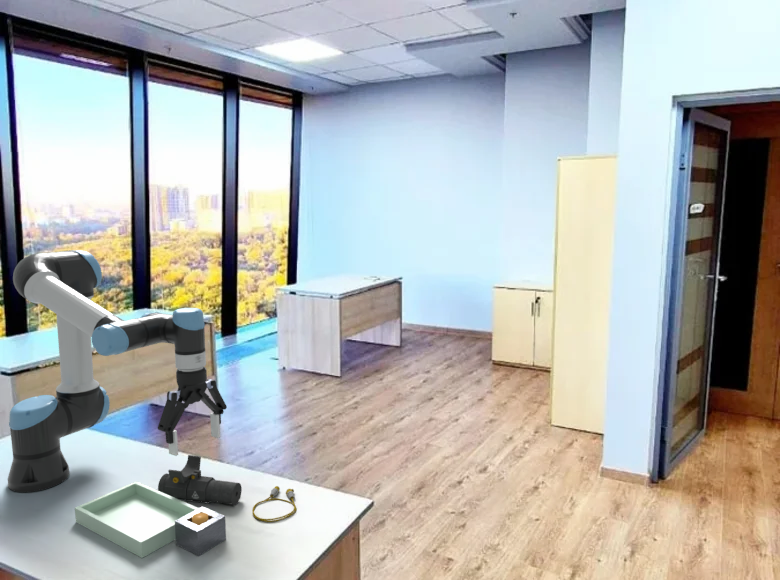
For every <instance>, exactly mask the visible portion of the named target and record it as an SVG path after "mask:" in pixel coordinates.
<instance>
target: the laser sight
mask: <svg viewBox="0 0 780 580" xmlns="http://www.w3.org/2000/svg"><path fill="white" fill-rule="evenodd" d="M201 461H202V456H201V455H200V456H199V455H192V454H188V455H187V461H186V463H185V466H184V467H183V468H182V469H181V470H175V469H168V470H167V471H168V473H164V474H163V475H162V476H161V478H160V479H159V481H158V484H157V490H158V491H160V492H163V493H165V494H167V495H170V496H172V497H174V498H176V499H179V500H181V501H187V502H188V501H189V502H196V503H203V504H210V502H211V503H219V504H224V505H225V504H226V505H233V506H235V505H238V503H239V502H240V500H241V496H242V491H243V490H242V489H243V488H242V485H241V483H240V482H235V481H227V480H219V479H215V478H214V477H212V476H204V475H202V470H200V469H201Z"/></svg>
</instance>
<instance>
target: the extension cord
mask: <svg viewBox="0 0 780 580" xmlns="http://www.w3.org/2000/svg"><path fill="white" fill-rule="evenodd" d="M279 491H280V486H278V485H276V486H274V487H273V488H272V489H271V491H270V494H269V497H267V498H266V499H264V500H261V501H258V502H256V503H255V504H254V505H253V507H252V516H253V517H254V518H255V519H257V520H258V521H262V522H266V523H274V522H279V521H281V520H284V519H287V518H289V517H291V516H293V515H294V514H295V513H296V512H297V505H296V503H295V501H294V499H295V493H294V492H295V490H294V488H288V489H286V491H285V494H286V497H287V498H288V500H286V499H281V498H278V497H277V498H276V496H277V495H278V494H279ZM276 500H277V501H281V502H286V503H288V504H291V505H293V510H292V511H291V512H289V513H287V514H285V515H282V516H278V517H275V518H263V517H259V516H257V515H256V514H255V509H256V508H257V506H258V505H261V504H263V503H265V502H268V501H276ZM291 501H292V502H291Z"/></svg>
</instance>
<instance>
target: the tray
mask: <svg viewBox="0 0 780 580" xmlns="http://www.w3.org/2000/svg"><path fill="white" fill-rule="evenodd" d="M199 508H200V507H197V506H195V505H193V504H190V503H189V502H188V503H187V502H186V501H184V500H180V499H176V498H174V497H172V496H170V495H167V494H165V493H163V492H160V491H158V489H156V488H153V487H151V486H148V485H146V484H144V483H142V482H139V481H133V482H132V483H129V484H127V485H124V486H122V487H120V488H117V489H115V490H113V491H111V492H108V493H106V494H104V495H101V496H99V497H97V498H95V499H92V500H89V501H87V502H85V503H83V504H80V505H78V506H76V507H74V514H75V523H77V524H79V525H80V526H82V527H85V528H86V529H88V530H90V531H91V532H93V533H95V534H97V535H99V536H101V537H102V538H104V539H106V540H108V541H110V542H112V543H114V544H115V545H117V546H119V547H121V548H123V549H124V550H126V551H128V552H130V553H132V554H134V555H135V556H138V557H140V558H141V559H143V558H144V557H146V556H148V555H150V554H152V553H154V552H155V551H157V550H159V549H161V548H162V547H164V546H166V545H169V544H170V543H171V542H173V541H176V536H175V521H176V520H178V519H180V518H181V517H183V516H185V515H187V514H189V513H191V512H193V511H195V510H197V509H199Z"/></svg>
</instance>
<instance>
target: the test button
mask: <svg viewBox="0 0 780 580" xmlns="http://www.w3.org/2000/svg"><path fill="white" fill-rule="evenodd" d="M206 521H208V514H207V513H197V514H195V515H193V516H192V523H194V524H196V525H198V526H199V525H201V524H203V523H204V522H206Z"/></svg>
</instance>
